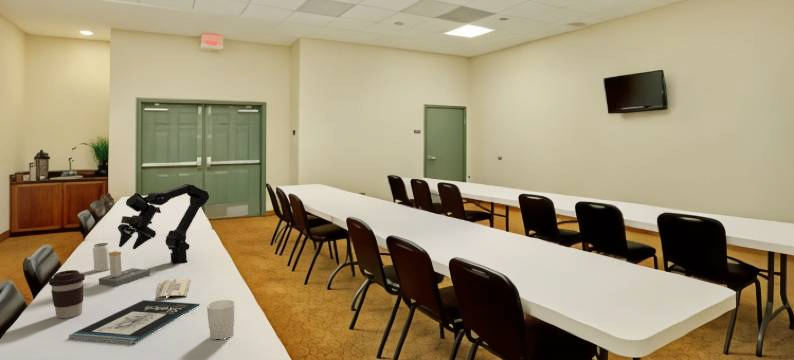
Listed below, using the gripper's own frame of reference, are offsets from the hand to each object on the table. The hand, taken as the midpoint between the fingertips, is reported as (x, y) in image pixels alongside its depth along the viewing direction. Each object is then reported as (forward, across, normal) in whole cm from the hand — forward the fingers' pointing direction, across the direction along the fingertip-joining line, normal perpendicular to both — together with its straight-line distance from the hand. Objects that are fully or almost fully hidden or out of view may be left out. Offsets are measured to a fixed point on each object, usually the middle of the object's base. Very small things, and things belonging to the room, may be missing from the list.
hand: (126, 247), depth 197 cm
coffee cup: (+33, +23, -21) cm, 46 cm away
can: (+9, -22, +10) cm, 25 cm away
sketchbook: (+30, +50, -15) cm, 60 cm away
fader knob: (+13, +3, +1) cm, 13 cm away
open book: (+14, +34, +5) cm, 37 cm away
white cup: (+27, +84, -13) cm, 90 cm away
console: (+12, +3, +5) cm, 14 cm away
